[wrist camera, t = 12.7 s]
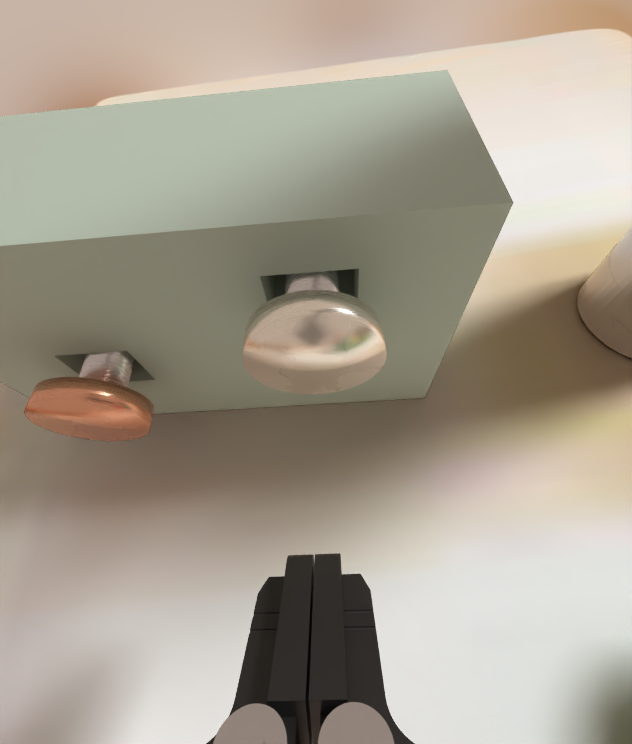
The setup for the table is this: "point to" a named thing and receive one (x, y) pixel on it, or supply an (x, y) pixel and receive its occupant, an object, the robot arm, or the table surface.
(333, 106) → the console
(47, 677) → the table surface
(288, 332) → the plunger cream
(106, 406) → the plunger terracotta
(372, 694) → the robot arm
